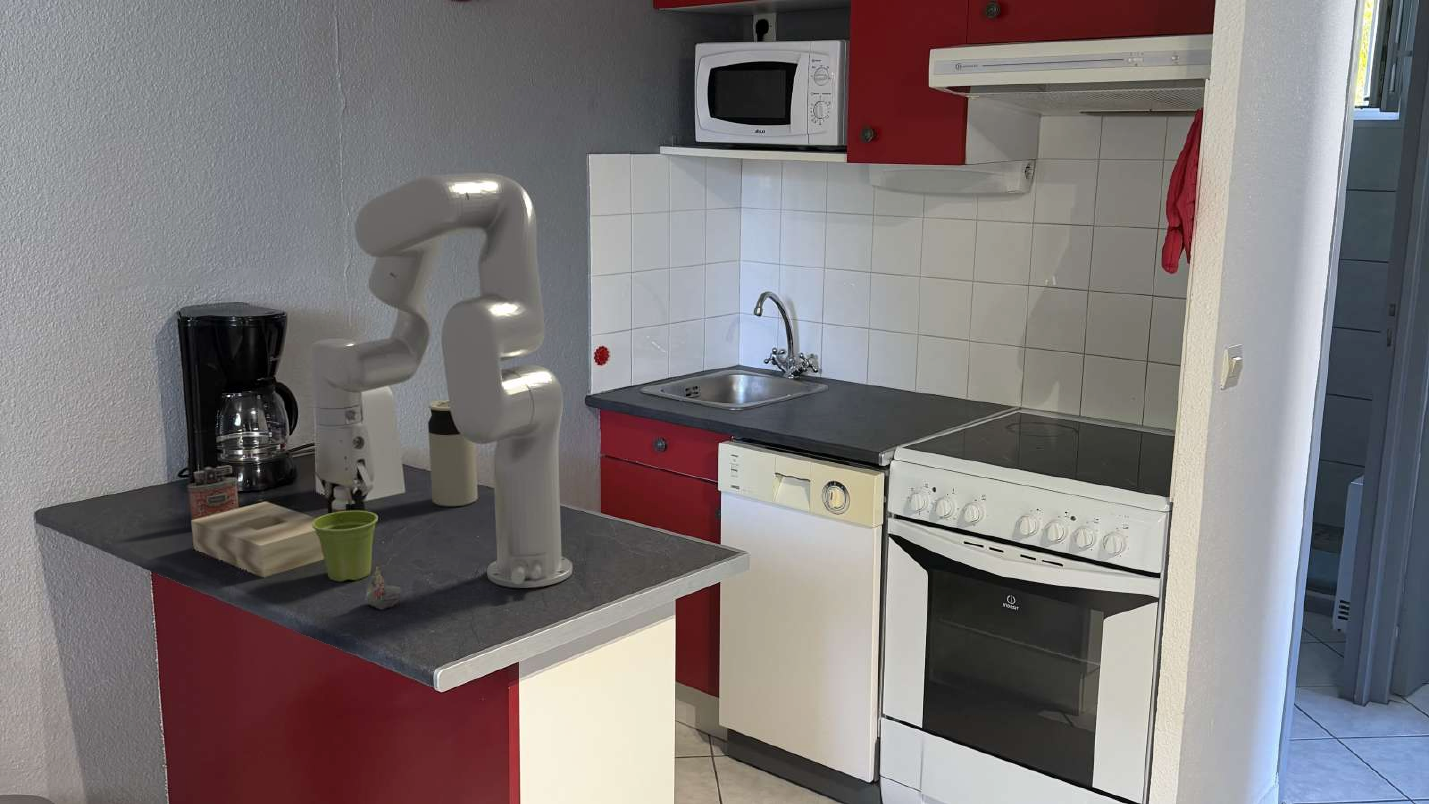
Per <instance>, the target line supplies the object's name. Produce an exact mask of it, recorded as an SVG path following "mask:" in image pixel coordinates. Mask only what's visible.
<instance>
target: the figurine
mask: <svg viewBox="0 0 1429 804" xmlns="http://www.w3.org/2000/svg"><path fill="white" fill-rule="evenodd" d="M381 572H382V569H381V568H380V566H379V565H375V571H374V574H373V575H372V576H371V579H370V581H369V583H368V585H367V588H366V591H367V592H366V594H365V599H364V601H367V602H366V605H367V606H371V607H374V608H376V609H377V610H380V611H383V610H385V609H389V608H392V607H393V606H394V605H396V604H397V603H398V602H399V599H401V598H402V597H403V593H402V588H401V587H399V586H395V585H386V582H385V580H384V579H383V577H382V575H381ZM373 578H375V582H374V581H372V580H373Z"/></svg>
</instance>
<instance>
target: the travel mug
mask: <svg viewBox="0 0 1429 804" xmlns="http://www.w3.org/2000/svg"><path fill="white" fill-rule="evenodd" d="M428 408H429V409H430V413H431V416H430V418H429V420H428V422H427V425H428V426H427V427H428V444H429V445H428V447H429V459H430V460H429V464H430V465H429V466H430V478H431V480H430V481H431V483H430V484H431V497H432V503H434V504H436V505H437V506H441V507H449V508H451V507H452V508H453V507H454V508H455V507H463V506H468V505H470V504H473V503H474V502H476V501H477V500H478V480H477V479H478V478H477V459H476V443H473V442H470V441H469V440H467V439H466V438H464V437H463V436H462V435H461V434H460V432H459V431H458V429H457V428H456V426H455V423H454V421H453V418H452V414H451V410H450V404H449V399H440V400H436V401H435V400H434V401H432V402H430V403H429V404H428Z"/></svg>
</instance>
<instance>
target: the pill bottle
mask: <svg viewBox="0 0 1429 804" xmlns="http://www.w3.org/2000/svg"><path fill="white" fill-rule="evenodd" d="M352 490H353V494H354V493H355V491H356V489H355V488H352ZM334 497H335V498H336V499H335V500H334V501H333V502H332V513H336V512H342V511H346V504H348V500H347V495H346V490H345V486H343V485H340V486H337V487H335V488H334Z"/></svg>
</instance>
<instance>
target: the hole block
mask: <svg viewBox="0 0 1429 804" xmlns="http://www.w3.org/2000/svg"><path fill="white" fill-rule="evenodd" d="M316 518H317V517H315V516H311V515H308V514H306V513H302V512H299V511H295V510H293V509H290V508H286V507H285V506H284V507H283V506H280V505H277V504H275V503H271V502H269V501H262V502H259V503H254V504H251V505H246V506H243V507H239V508H238V509H234V510H230V511H226V512H222V513H218V514H215V515H211V516H207V517H203V518H199V519H195V520H192V519H191V520H190V522H191V523H192V527H191V532H192V542H193V550H194V549H195V550H197V551H199V552H204V553H206V554H208V555H210V556H212V557H215V558H217V559H219V560H218V561H220V560H223V561H225V562H228V563H230V564H232V565H235V566H236V567H235V566H234V567H235V568H238V567H239V568H238V569H240V568H241V569H240V570H243V569H244V570H243V571H245V570H247V571H246V572H247V573H250V572H251V574H253V575H256V576H258V577H260V578H263V577H264V578H267V577H270V576H274V575H276V574H280V573H283V572H288V571H291V570H293V569H296V568H297V569H298V568H300V567H304V566H306V565H309V564H313V563H317V562H320V561H324V556H323V552H322V548H321V544H320V540H319V537H318V536H317V534H316V530H315V529H314V528H313V527H312V522H313V521H314V520H315V519H316ZM197 551H196V552H197ZM199 552H198V553H199ZM210 556H209V557H210ZM212 557H211V558H212ZM215 558H214V559H215ZM217 559H216V560H217ZM225 562H224V563H225ZM230 564H229V565H230ZM232 565H231V566H232Z"/></svg>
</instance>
